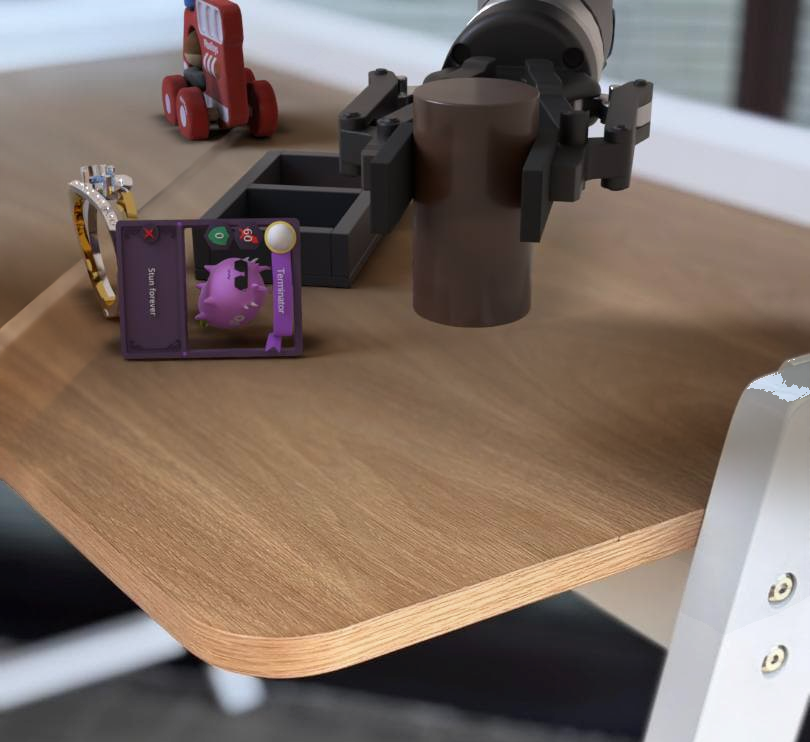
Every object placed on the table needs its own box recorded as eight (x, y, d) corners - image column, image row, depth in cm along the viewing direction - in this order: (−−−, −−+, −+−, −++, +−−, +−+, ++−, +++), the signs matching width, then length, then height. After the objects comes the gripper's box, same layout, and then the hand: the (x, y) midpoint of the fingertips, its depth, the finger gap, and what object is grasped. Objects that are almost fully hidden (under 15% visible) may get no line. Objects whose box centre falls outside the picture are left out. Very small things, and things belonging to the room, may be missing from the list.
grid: (194, 279, 85) (190, 226, 84) (271, 196, 100) (269, 149, 98) (349, 288, 84) (348, 234, 82) (404, 202, 98) (403, 155, 97)
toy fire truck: (240, 110, 122) (232, -26, 117) (286, 145, 111) (280, -2, 106) (156, 118, 119) (144, -20, 114) (195, 155, 109) (184, 5, 104)
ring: (68, 300, 82) (51, 154, 78) (125, 291, 83) (111, 147, 80) (100, 342, 77) (83, 188, 73) (160, 333, 78) (147, 180, 74)
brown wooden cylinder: (402, 324, 62) (402, 102, 57) (423, 284, 66) (424, 74, 62) (523, 332, 61) (532, 107, 57) (536, 291, 65) (546, 79, 61)
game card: (112, 219, 73) (298, 217, 73) (128, 224, 78) (302, 222, 78) (119, 359, 74) (302, 356, 74) (134, 355, 79) (305, 352, 79)
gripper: (697, 156, 76) (690, 313, 56) (351, 140, 79) (227, 284, 59) (711, 2, 73) (709, 111, 53) (349, -9, 76) (216, 90, 56)
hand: (455, 202), depth 56 cm, fingers closed on brown wooden cylinder, 5 cm apart
